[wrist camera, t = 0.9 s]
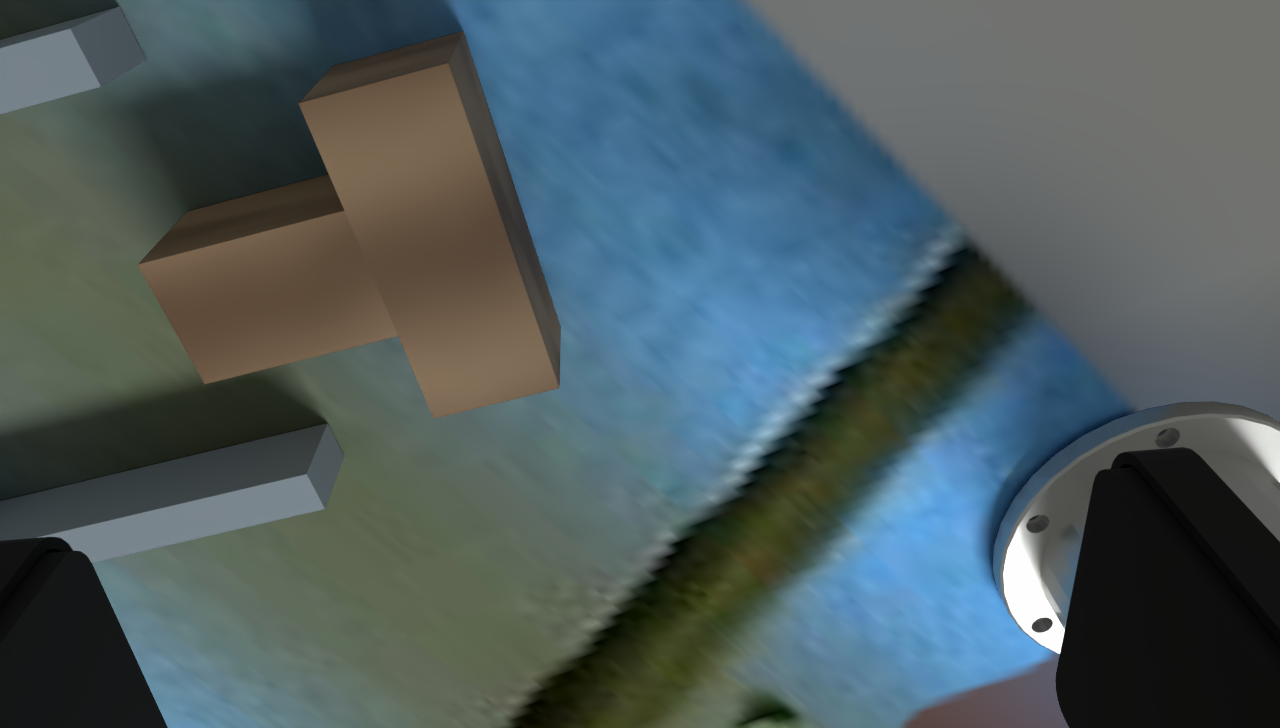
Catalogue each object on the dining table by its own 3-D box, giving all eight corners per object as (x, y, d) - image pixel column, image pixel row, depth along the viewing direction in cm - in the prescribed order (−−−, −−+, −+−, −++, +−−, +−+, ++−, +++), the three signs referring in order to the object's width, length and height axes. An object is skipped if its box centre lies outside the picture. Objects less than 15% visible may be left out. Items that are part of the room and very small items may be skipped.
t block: (560, 326, 33) (559, 388, 29) (283, 395, 34) (249, 463, 30) (463, 30, 28) (448, 63, 24) (139, 118, 29) (79, 162, 25)
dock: (344, 456, 35) (324, 509, 32) (-23, 542, 36) (-70, 600, 34) (119, 6, 27) (69, 28, 24) (-343, 136, 28) (-437, 170, 26)
